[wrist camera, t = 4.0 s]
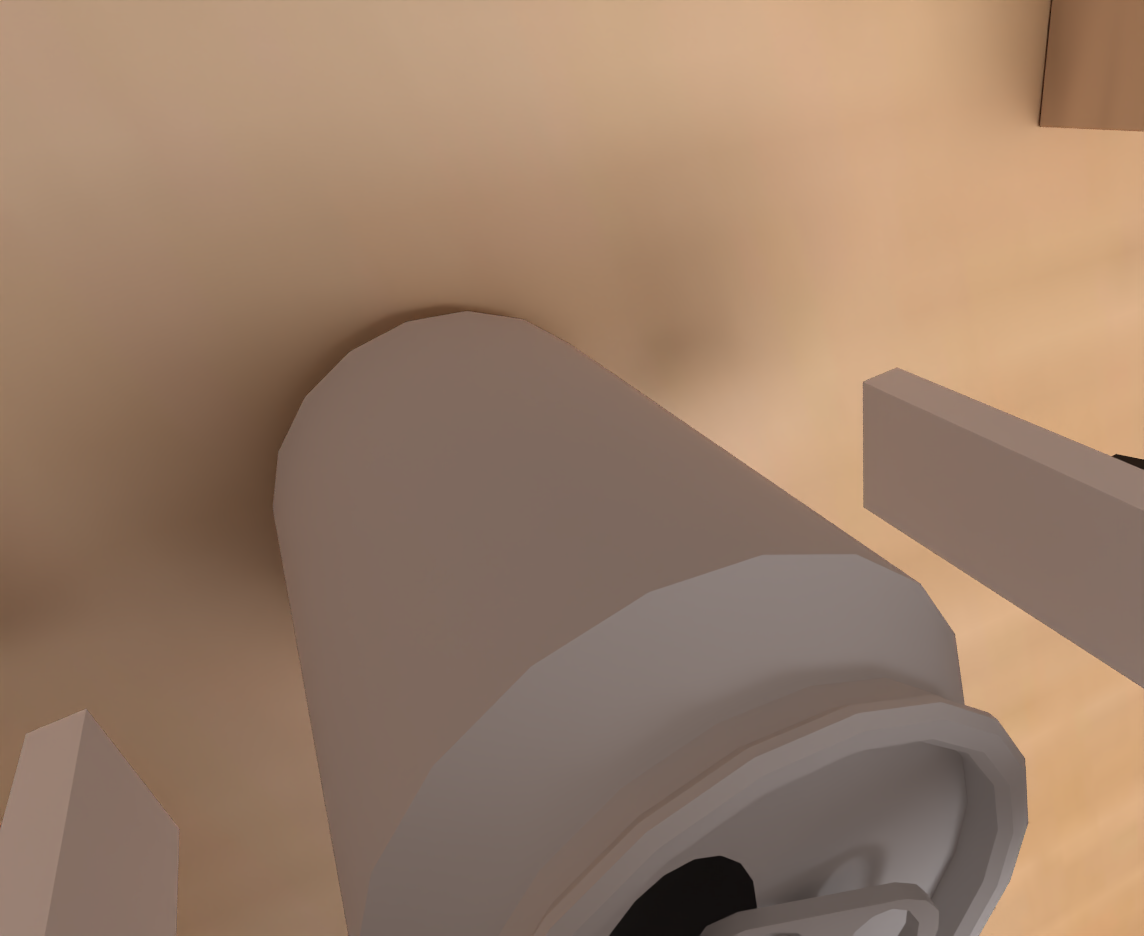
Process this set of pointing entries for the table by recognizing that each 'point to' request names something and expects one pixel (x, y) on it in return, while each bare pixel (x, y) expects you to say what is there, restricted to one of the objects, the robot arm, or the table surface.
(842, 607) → the can
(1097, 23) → the kraft box
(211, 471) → the table surface
